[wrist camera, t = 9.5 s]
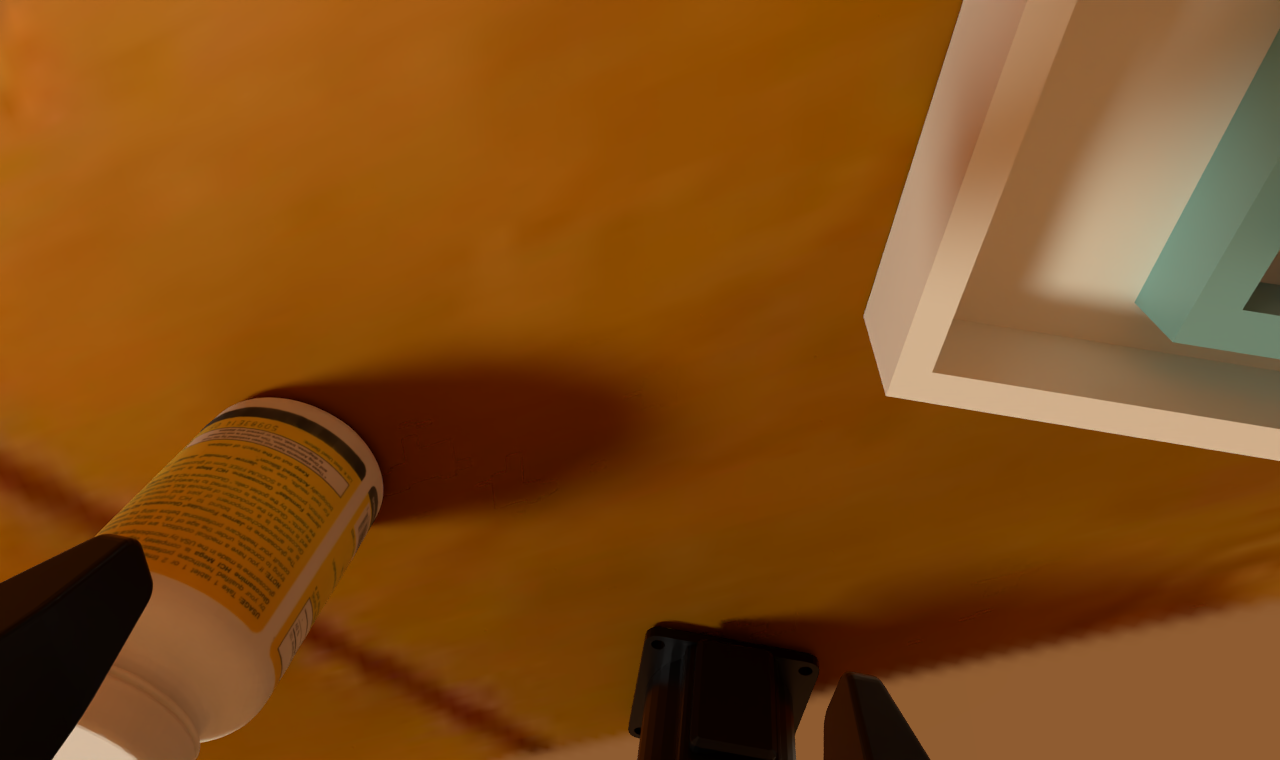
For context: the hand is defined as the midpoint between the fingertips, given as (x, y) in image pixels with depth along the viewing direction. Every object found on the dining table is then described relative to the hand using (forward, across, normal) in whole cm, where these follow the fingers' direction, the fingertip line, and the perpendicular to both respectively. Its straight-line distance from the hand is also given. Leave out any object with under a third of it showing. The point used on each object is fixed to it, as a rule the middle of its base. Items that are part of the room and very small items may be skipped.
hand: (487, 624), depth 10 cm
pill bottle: (+13, +10, +10) cm, 20 cm away
